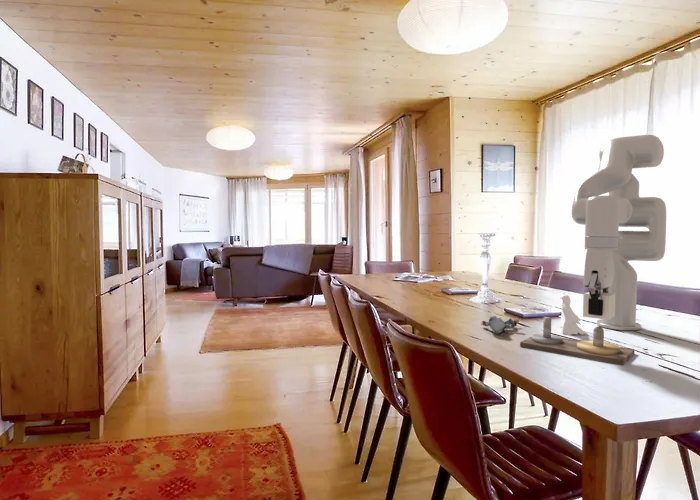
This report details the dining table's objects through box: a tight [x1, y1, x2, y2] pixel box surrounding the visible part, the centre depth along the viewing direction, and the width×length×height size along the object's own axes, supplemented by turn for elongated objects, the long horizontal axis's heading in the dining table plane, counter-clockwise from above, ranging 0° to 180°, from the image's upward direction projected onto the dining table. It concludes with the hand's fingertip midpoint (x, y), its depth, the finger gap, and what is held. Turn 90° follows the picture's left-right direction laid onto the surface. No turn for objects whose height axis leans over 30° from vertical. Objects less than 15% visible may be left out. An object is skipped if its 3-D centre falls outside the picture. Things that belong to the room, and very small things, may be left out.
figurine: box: [560, 294, 589, 336], centre depth 140 cm, size 8×8×12 cm
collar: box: [582, 291, 615, 320], centre depth 117 cm, size 6×6×6 cm
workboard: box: [519, 316, 635, 366], centre depth 122 cm, size 13×25×8 cm, turn 47°
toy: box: [480, 315, 520, 335], centre depth 144 cm, size 7×11×15 cm
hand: (598, 312), depth 117 cm, fingers closed on collar, 6 cm apart
